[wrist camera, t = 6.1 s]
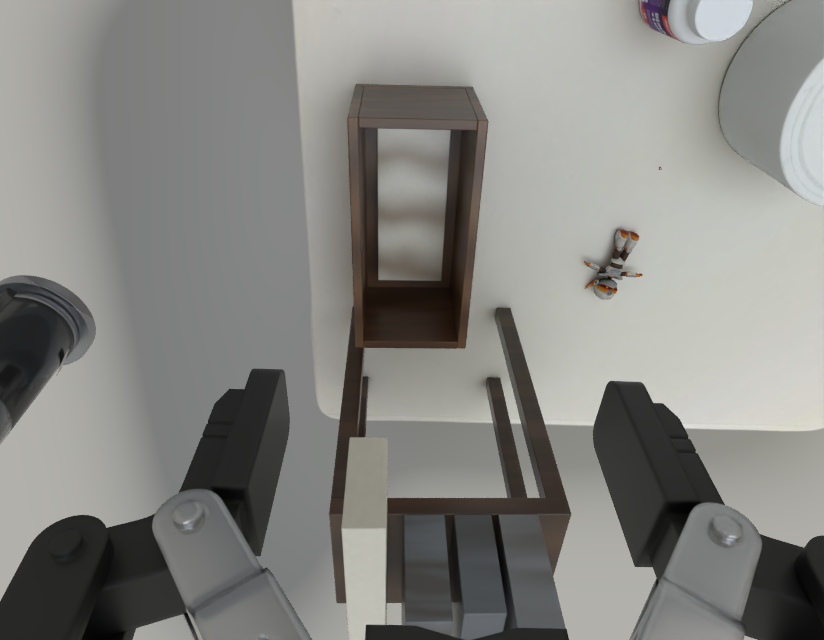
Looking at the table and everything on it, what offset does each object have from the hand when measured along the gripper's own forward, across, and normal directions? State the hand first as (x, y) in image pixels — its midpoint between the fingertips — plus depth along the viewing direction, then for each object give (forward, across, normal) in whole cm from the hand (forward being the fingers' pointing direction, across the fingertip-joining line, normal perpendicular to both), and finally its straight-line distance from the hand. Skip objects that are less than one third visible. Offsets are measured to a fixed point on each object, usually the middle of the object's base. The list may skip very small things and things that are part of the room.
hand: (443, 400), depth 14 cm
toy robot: (+45, -23, +17) cm, 53 cm away
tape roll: (+45, -35, +1) cm, 57 cm away
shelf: (+44, -3, +33) cm, 55 cm away
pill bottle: (+45, -21, -5) cm, 50 cm away
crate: (+44, 0, +14) cm, 46 cm away
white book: (+16, +3, +27) cm, 32 cm away
